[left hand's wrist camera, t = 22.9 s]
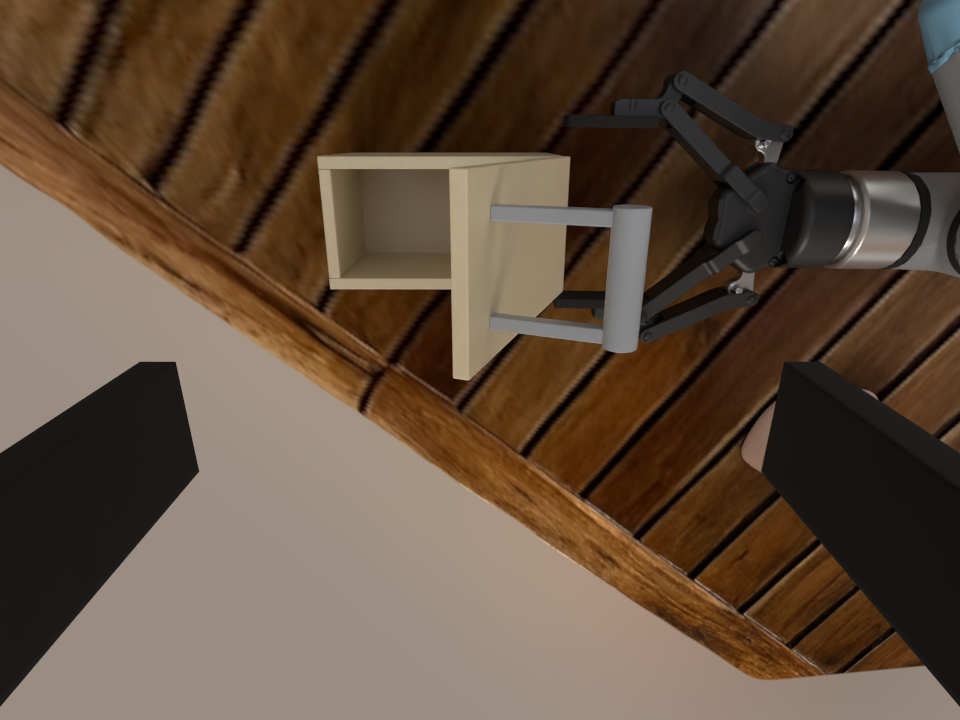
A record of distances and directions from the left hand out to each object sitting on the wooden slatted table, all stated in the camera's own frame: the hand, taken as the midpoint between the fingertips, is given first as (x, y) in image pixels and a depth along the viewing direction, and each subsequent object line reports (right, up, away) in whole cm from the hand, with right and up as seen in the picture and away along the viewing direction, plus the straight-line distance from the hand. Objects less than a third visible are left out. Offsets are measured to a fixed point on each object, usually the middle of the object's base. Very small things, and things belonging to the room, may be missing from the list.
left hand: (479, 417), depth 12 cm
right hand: (+6, +13, +32) cm, 35 cm away
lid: (+2, +8, +19) cm, 21 cm away
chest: (-3, +15, +37) cm, 40 cm away
